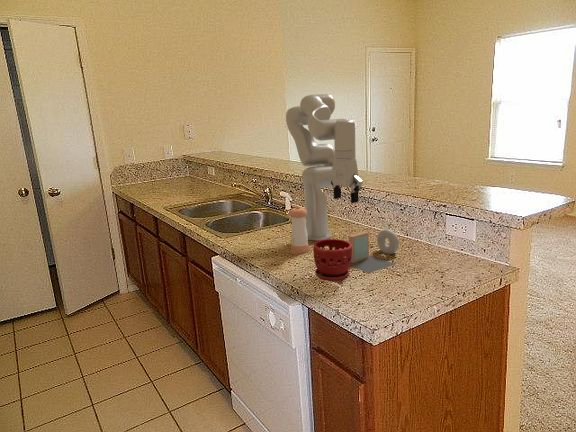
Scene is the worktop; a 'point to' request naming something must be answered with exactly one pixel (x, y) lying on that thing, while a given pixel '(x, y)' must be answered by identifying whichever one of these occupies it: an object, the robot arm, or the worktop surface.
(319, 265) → the plant pot
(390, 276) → the worktop surface
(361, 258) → the tile
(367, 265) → the mat
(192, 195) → the worktop surface
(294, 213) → the pepper shaker
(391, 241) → the donut
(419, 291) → the worktop surface
